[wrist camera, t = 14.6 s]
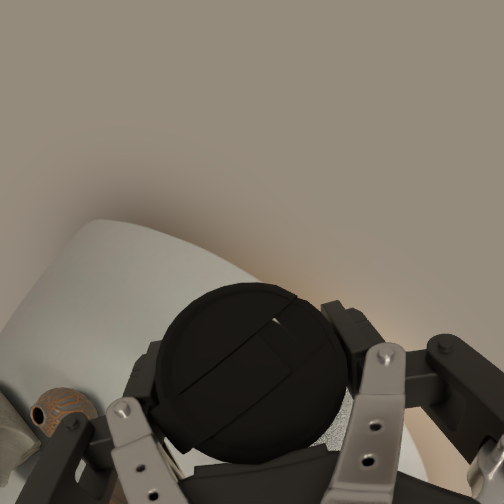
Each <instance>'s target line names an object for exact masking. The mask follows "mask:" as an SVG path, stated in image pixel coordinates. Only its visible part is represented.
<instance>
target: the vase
mask: <svg viewBox="0 0 504 504" xmlns="http://www.w3.org/2000/svg"><path fill="white" fill-rule="evenodd" d="M72 412H83V413H84V414H85V415H86V416H87V417H88V419H89V420H91V419H94V418H98V413H97V410H96V408H95V406H94V404H93V403H92V402H91V401H90V400H89V399H88V398H87V397H86V396H85V395H83V394H82V393H80V392H78V391H76V390H73V389H69V388H54V389H51V390H48V391H46V392H45V393H44V394H42V395H41V397H40V398H39V400H38V401H37V403H36V404H34V405H33V406H32V408H31V410H30V416H31V419H32V422H33V423H34V424H35V425H36V426H37V427H39V428H40V429H41V430H42V432H43V433H44V434H45V435H46V436H47V437H48V438H49V439H50V438H51V436H52V434H53V433H54V431H55V429H56V428H57V426H58V424H59V423H60V421H61V420H62V419H63V418H64V417H65V416H66V415H68V414H70V413H72Z"/></svg>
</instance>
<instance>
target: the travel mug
mask: <svg viewBox="0 0 504 504" xmlns="http://www.w3.org/2000/svg"><path fill="white" fill-rule="evenodd" d="M347 377H348V369H347V359H346V354H345V352H344V350H343V348H342V346H341V344H340V342H339V340H338V338H337V335H336V334H335V335H334V331H333V328H332V325H331V324H330V323H329V321H328V320H327V319H326V318H325V316H324V315H323V314H322V313H321V312H320V311H319V310H318V309H316V308H315V307H314V306H313V305H312V304H310V303H309V302H308V301H306V300H303V299H300V298H297V295H295V294H293V293H291V292H289V291H287V290H285V289H283V288H281V287H279V286H277V285H272V284H266V283H259V282H255V283H238V284H233V285H228V286H223V287H220V288H218V289H215V290H213V291H210V292H208V293H206V294H204V295H203V296H201V297H199V298H198V299H196V300H194V301H193V302H191V303H190V304H189V305H188V306H187V307H186V308H185V309H184V310H182V311H181V312H180V313H179V314H178V316H177V317H176V318H175V319H174V321H173V322H172V323H171V325H170V326H169V327H168V329H167V331H166V333H165V335H164V337H163V339H162V341H161V343H160V347H159V350H158V354H157V358H156V366H155V383H156V390H157V395H158V398H159V402H160V404H159V405H158V406H157V407H155V408H154V409H153V410H151V411H150V413H151V415H152V417H153V419H154V421H155V422H156V424H157V425H158V427H159V428H160V429H161V431H162V432H163V433H164V435H165V436H166V437H167V438H168V440H169V441H170V442H171V443H172V444H173V446H174V447H175V448H176V449H177V450H178V451H179V452H180V453H182V454H185V453H187V452H189V451H190V450H191V449H192V448H195V449H196V450H198V451H200V452H202V453H204V454H205V455H207V456H210V457H212V458H215V459H217V460H219V461H222V462H227V463H232V464H247V465H260V464H263V463H266V462H268V461H271V460H273V459H276V458H278V457H281V456H283V455H285V454H287V453H290V452H292V451H296V450H300V449H304V448H308V447H309V446H310V445H312V444H313V443H314V442H316V441H317V440H318V439H319V438H320V437H321V436H322V435H323V434H324V433H325V431H326V430H327V429H328V428H329V427H330V426H331V424H332V422H333V421H334V419H335V417H336V416H337V414H338V412H339V410H340V408H341V405H342V402H343V399H344V396H345V393H346V386H347Z"/></svg>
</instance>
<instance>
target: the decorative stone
mask: <svg viewBox="0 0 504 504" xmlns="http://www.w3.org/2000/svg"><path fill="white" fill-rule="evenodd" d="M40 445H41V442H40V440H39V439H38V438H37V437H36V435H35V434H34V433H33V432H32V430H31V429H30V428H29V427H28V425H27V424H26V423H25V421H24V420H23V419H22V417H21V416H20V415H19V414H18V412H17V411H16V410H15V408H14V407H13V406H12V405H11V403H10V402H9V401H8V400H7V399H6V397H5V396H4V395H3V394H2V393H1V392H0V487H5V486H6V484H7V483H8V479H9V476H10V473H11V471H12V470H13V469H14V468H16V467H17V466H19V465H21V464H22V463H24V462H25V461H26V460H27V459H28V458H29V457H30V456H31V455H32V454H33V453H35V452H37V451H38V450H39V449H40Z"/></svg>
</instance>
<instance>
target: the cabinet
mask: <svg viewBox="0 0 504 504" xmlns="http://www.w3.org/2000/svg"><path fill="white" fill-rule="evenodd" d="M109 504H128V501H127V498H126V496H125V493H124V491H123V488H122V485H121V482H120V480H119V478H118V479H117V482H116V485H115V488H114V491H113V493H112V496H111V499H110V502H109Z"/></svg>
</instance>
